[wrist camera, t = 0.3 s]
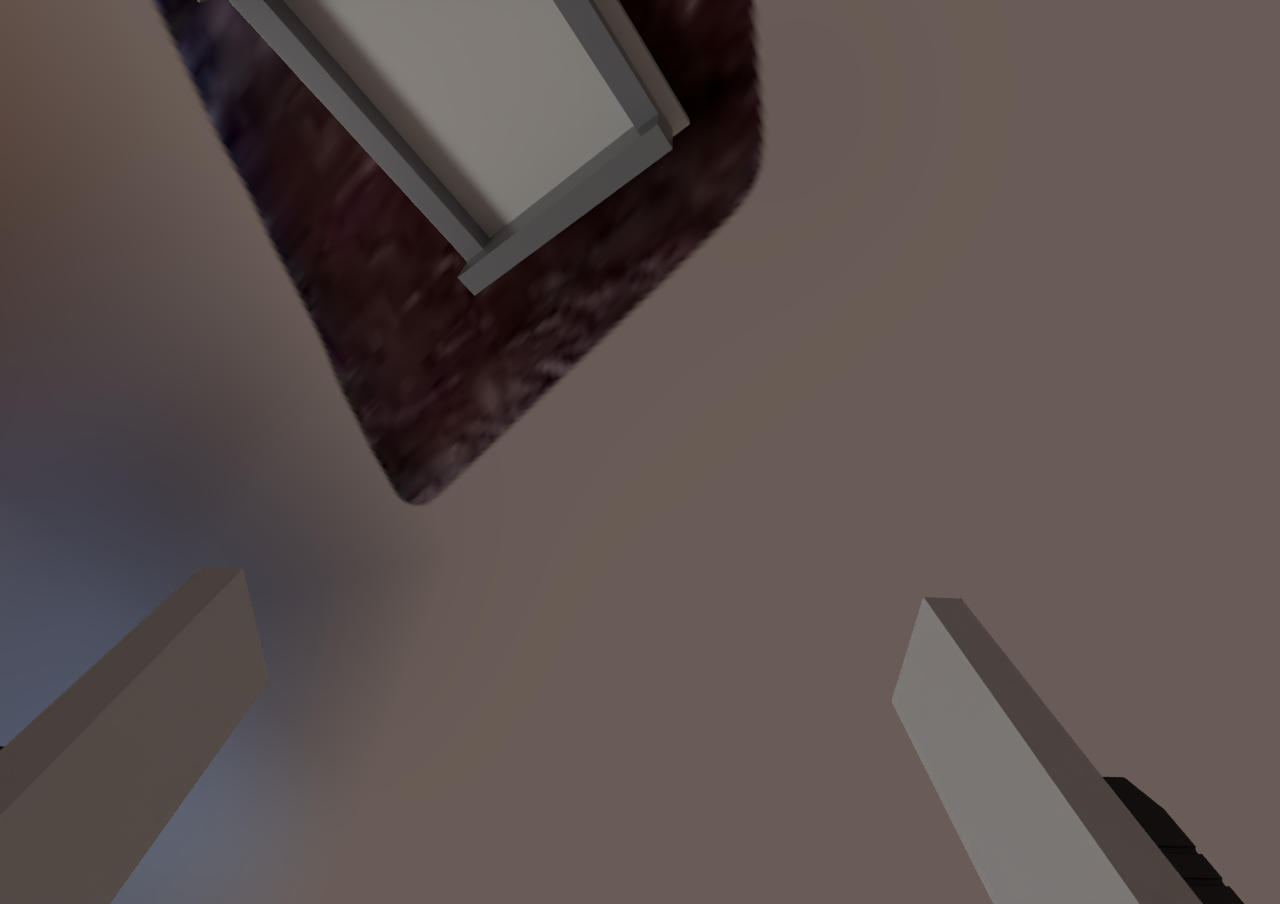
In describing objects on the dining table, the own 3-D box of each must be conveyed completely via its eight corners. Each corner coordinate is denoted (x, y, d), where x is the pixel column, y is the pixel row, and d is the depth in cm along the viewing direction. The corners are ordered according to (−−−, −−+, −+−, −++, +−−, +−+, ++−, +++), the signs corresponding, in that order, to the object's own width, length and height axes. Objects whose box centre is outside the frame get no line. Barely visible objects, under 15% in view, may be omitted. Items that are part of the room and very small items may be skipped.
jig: (429, -320, 22) (384, -366, 18) (689, 119, 30) (691, 143, 27) (216, -29, 27) (151, -22, 24) (487, 271, 36) (467, 307, 33)
